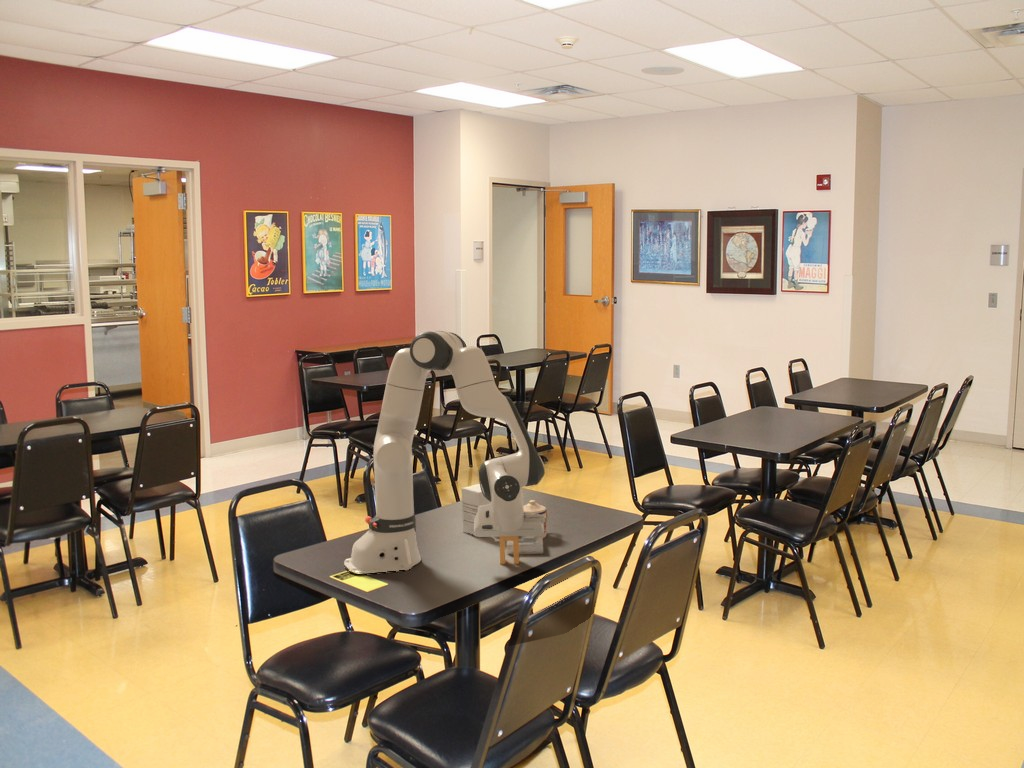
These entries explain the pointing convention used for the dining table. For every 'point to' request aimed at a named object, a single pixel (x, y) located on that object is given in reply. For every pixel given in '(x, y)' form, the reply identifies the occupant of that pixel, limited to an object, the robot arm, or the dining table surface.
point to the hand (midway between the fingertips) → (509, 538)
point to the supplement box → (471, 506)
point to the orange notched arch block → (516, 548)
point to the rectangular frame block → (527, 545)
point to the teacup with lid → (537, 512)
